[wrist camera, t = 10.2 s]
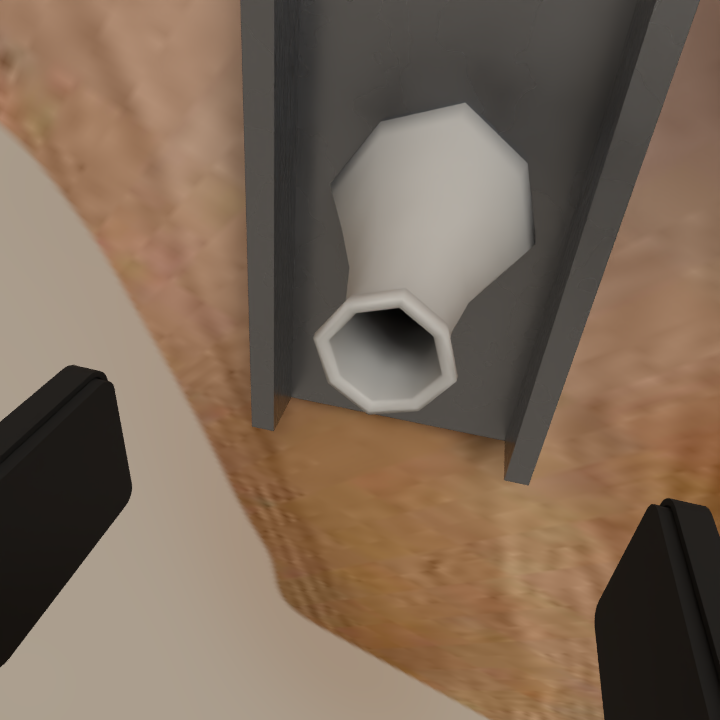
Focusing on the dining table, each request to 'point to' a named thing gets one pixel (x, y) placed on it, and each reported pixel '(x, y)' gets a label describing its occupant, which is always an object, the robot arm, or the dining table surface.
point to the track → (507, 118)
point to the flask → (420, 251)
